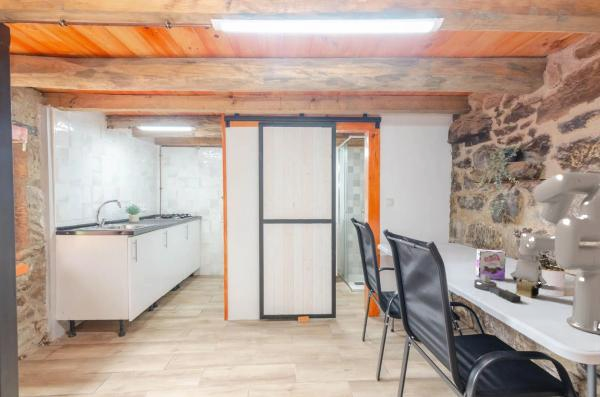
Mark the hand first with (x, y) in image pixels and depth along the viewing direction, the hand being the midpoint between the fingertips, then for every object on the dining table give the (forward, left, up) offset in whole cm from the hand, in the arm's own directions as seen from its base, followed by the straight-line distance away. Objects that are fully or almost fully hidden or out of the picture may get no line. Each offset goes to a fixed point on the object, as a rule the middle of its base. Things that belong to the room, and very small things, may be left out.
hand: (527, 293), depth 149 cm
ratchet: (+3, +14, -1) cm, 14 cm away
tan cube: (0, 0, -1) cm, 1 cm away
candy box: (+28, -2, -1) cm, 28 cm away
